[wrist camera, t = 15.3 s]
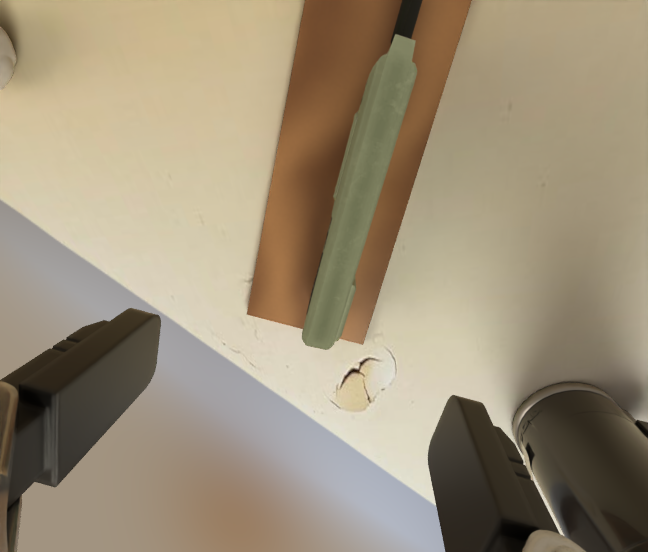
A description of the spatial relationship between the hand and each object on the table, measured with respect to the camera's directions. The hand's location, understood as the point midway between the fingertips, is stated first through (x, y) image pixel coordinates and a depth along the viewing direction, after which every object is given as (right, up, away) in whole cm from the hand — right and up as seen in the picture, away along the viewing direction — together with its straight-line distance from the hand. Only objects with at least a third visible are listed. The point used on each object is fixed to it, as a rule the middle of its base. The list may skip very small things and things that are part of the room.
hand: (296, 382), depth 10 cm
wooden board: (+3, +12, +20) cm, 24 cm away
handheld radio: (+4, +11, +20) cm, 23 cm away
